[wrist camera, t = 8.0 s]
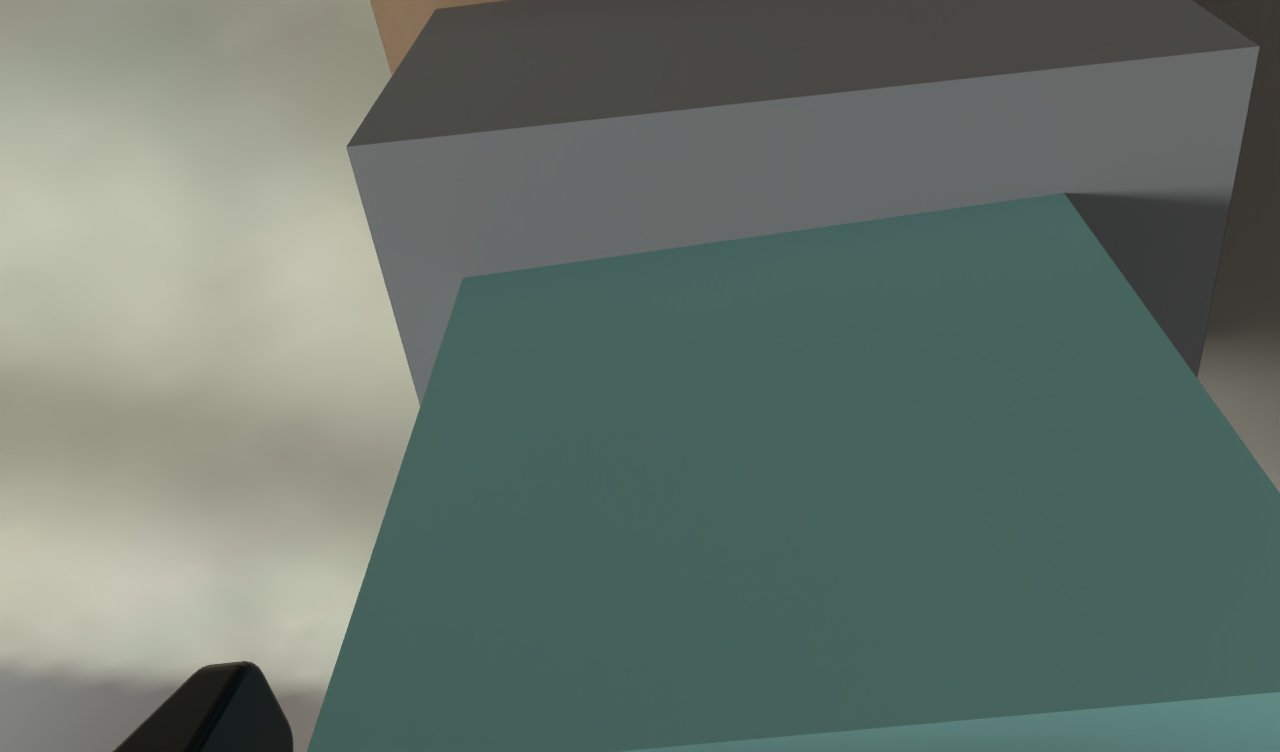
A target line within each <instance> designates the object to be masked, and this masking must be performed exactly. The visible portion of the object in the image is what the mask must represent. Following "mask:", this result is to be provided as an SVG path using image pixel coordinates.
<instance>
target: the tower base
mask: <svg viewBox="0 0 1280 752" xmlns="http://www.w3.org/2000/svg"><path fill="white" fill-rule="evenodd" d="M498 1H506V0H370V2H371V5H372V8H373V12H374V15H375V19H376V22H377V26H378V29H379V33H380V36H381V39H382V43H383V46H384V50H385V53H386V57H387V60H388V63H389V67H390V70H391V74H392V76H393V74H394V73H395V71H396V70H397V68H398V66H399V65H400V63H401V62H402V60H403V59H404V57H405V56H406V54H407V53H408V51H409V49H410V48H411V46H412V45H413V43H414V42H415V40H416V39H417V37H418V36H419V34H420V33H421V31H422V29H423V28H424V26H425V25H426V23H427V22H428V20H429V19H430V17H431V16H432V14H433V12H434V11H435V9H440V8H448V7H456V6H465V5H473V4H481V3H490V2H498Z"/></svg>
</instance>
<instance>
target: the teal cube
mask: <svg viewBox="0 0 1280 752" xmlns="http://www.w3.org/2000/svg"><path fill="white" fill-rule="evenodd" d="M307 752H1280V493H1279V492H1278V490H1277V489H1276V488H1275V486H1274V485H1273V483H1272V482H1271V481H1270V479H1269V478H1268V476H1267V475H1266V474H1265V472H1264V471H1263V469H1262V468H1261V467H1260V465H1259V464H1258V463H1257V461H1256V460H1255V458H1254V457H1253V456H1252V454H1251V453H1250V451H1249V450H1248V449H1247V447H1246V446H1245V444H1244V443H1243V442H1242V440H1241V439H1240V437H1239V436H1238V435H1237V433H1236V432H1235V430H1234V429H1233V428H1232V426H1231V425H1230V423H1229V422H1228V421H1227V419H1226V418H1225V417H1224V415H1223V414H1222V412H1221V411H1220V410H1219V408H1218V407H1217V405H1216V404H1215V403H1214V401H1213V400H1212V398H1211V397H1210V396H1209V394H1208V393H1207V391H1206V390H1205V389H1204V387H1203V386H1202V384H1201V383H1200V382H1199V380H1198V379H1197V378H1196V376H1195V375H1194V373H1193V372H1192V371H1191V369H1190V368H1189V366H1188V365H1187V364H1186V362H1185V361H1184V359H1183V358H1182V357H1181V355H1180V354H1179V352H1178V351H1177V350H1176V348H1175V347H1174V345H1173V344H1172V343H1171V341H1170V340H1169V339H1168V337H1167V336H1166V334H1165V333H1164V332H1163V330H1162V329H1161V327H1160V326H1159V325H1158V323H1157V322H1156V320H1155V319H1154V318H1153V316H1152V315H1151V313H1150V312H1149V311H1148V309H1147V308H1146V306H1145V305H1144V304H1143V302H1142V301H1141V299H1140V298H1139V297H1138V295H1137V294H1136V293H1135V291H1134V290H1133V288H1132V287H1131V286H1130V284H1129V283H1128V281H1127V280H1126V279H1125V277H1124V276H1123V274H1122V273H1121V272H1120V270H1119V269H1118V267H1117V266H1116V265H1115V263H1114V262H1113V260H1112V259H1111V258H1110V256H1109V255H1108V254H1107V252H1106V251H1105V249H1104V248H1103V247H1102V245H1101V244H1100V242H1099V241H1098V240H1097V238H1096V237H1095V235H1094V234H1093V233H1092V231H1091V230H1090V228H1089V227H1088V226H1087V224H1086V223H1085V221H1084V220H1083V219H1082V217H1081V216H1080V214H1079V213H1078V212H1077V210H1076V209H1075V208H1074V206H1073V205H1072V203H1071V202H1070V201H1069V199H1068V198H1067V196H1066V195H1065V194H1064V193H1060V194H1052V195H1045V196H1038V197H1031V198H1024V199H1017V200H1010V201H1003V202H996V203H989V204H982V205H975V206H968V207H961V208H954V209H947V210H939V211H932V212H925V213H918V214H911V215H904V216H897V217H890V218H883V219H876V220H869V221H862V222H855V223H848V224H841V225H833V226H826V227H819V228H812V229H805V230H798V231H791V232H784V233H777V234H770V235H763V236H756V237H749V238H742V239H735V240H727V241H720V242H713V243H706V244H699V245H692V246H685V247H678V248H671V249H664V250H657V251H650V252H643V253H636V254H629V255H621V256H614V257H607V258H600V259H593V260H586V261H579V262H572V263H565V264H558V265H551V266H544V267H537V268H530V269H523V270H515V271H508V272H501V273H494V274H487V275H480V276H473V277H466V278H463V279H462V282H461V285H460V288H459V291H458V294H457V297H456V300H455V304H454V307H453V310H452V313H451V316H450V319H449V322H448V325H447V328H446V331H445V334H444V337H443V340H442V343H441V346H440V349H439V352H438V355H437V358H436V361H435V364H434V367H433V370H432V373H431V376H430V379H429V382H428V385H427V389H426V392H425V395H424V398H423V401H422V404H421V407H420V410H419V413H418V416H417V419H416V422H415V425H414V428H413V431H412V434H411V437H410V440H409V443H408V446H407V449H406V452H405V455H404V458H403V461H402V464H401V467H400V470H399V474H398V477H397V480H396V483H395V486H394V489H393V492H392V495H391V498H390V501H389V504H388V507H387V510H386V513H385V516H384V519H383V522H382V525H381V528H380V531H379V534H378V537H377V540H376V543H375V546H374V549H373V552H372V555H371V559H370V562H369V565H368V568H367V571H366V574H365V577H364V580H363V583H362V586H361V589H360V592H359V595H358V598H357V601H356V604H355V607H354V610H353V613H352V616H351V619H350V622H349V625H348V628H347V631H346V634H345V637H344V640H343V643H342V647H341V650H340V653H339V656H338V659H337V662H336V665H335V668H334V671H333V674H332V677H331V680H330V683H329V686H328V689H327V692H326V695H325V698H324V701H323V704H322V707H321V710H320V714H319V716H318V719H317V723H316V725H315V728H314V732H313V735H312V738H311V741H310V744H309V747H308V750H307Z"/></svg>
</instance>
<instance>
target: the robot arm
mask: <svg viewBox="0 0 1280 752" xmlns="http://www.w3.org/2000/svg"><path fill="white" fill-rule="evenodd" d="M113 752H293V737H292V732H291V728H290V725H289V722H288V720H287V718H286V716H285V715H284V713H283V711H282V709H281V707H280V705H279V703H278V701H277V699H276V697H275V695H274V694H273V692H272V690H271V688H270V686H269V684H268V682H267V680H266V678H265V676H264V674H263V673H262V671H261V670H260V668H259V667H258V666H256V665H255V664H254V663H252V662H247V661H242V662H233V663H223V664H214V665H208V666H205V667H202V668H201V669H199V670H198V671H196V672H195V673H194V674H193V675H192V676H191V677H190V678H189V679H188V680H187V681H185V682H184V683H183V684H182V685H181V686H180V687H179V688H178V689H177V690H176V691H175V692H174V693H173V694H172V695H171V696H170V697H169V698H168V699H167V700H166V701H165V702H164V703H163V704H162V705H161V706H159V707H158V708H157V709H156V710H155V711H154V712H153V713H152V714H151V715H150V716H149V717H148V718H147V719H146V720H145V721H144V722H143V723H142V724H141V725H140V726H139V727H138V728H137V729H136V730H135V731H133V733H131V734H130V735H129V736H128V737H127V738H126V739H125V740H124V741H123V742H122V743H121V744H120V745H119V746H118V747H117V748H116V749H115V750H114V751H113Z"/></svg>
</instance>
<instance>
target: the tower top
mask: <svg viewBox="0 0 1280 752" xmlns="http://www.w3.org/2000/svg"><path fill="white" fill-rule="evenodd" d="M1259 48H1260V46H1259V45H1257V44H1256V43H1254V42H1253V41H1251V40H1250V39H1248V38H1247V37H1246V36H1244V35H1243V34H1241V33H1240V32H1238V31H1237V30H1235V29H1234V28H1232V27H1231V26H1229V25H1228V24H1226V23H1225V22H1223V21H1222V20H1221V19H1219V18H1218V17H1216V16H1215V15H1213V14H1212V13H1210V12H1209V11H1207V10H1206V9H1204V8H1203V7H1201V6H1200V5H1199V4H1197V3H1196V2H1194V1H1193V0H506V1H498V2H490V3H481V4H473V5H465V6H456V7H448V8H440V9H435V11H434V12H433V14H432V16H431V17H430V19H429V20H428V22H427V23H426V25H425V26H424V28H423V29H422V31H421V33H420V34H419V36H418V37H417V39H416V40H415V42H414V43H413V45H412V46H411V48H410V49H409V51H408V53H407V54H406V56H405V57H404V59H403V60H402V62H401V63H400V65H399V66H398V68H397V70H396V71H395V73H394V74H393V76H392V77H391V79H390V80H389V82H388V83H387V85H386V87H385V88H384V90H383V91H382V93H381V94H380V96H379V97H378V99H377V100H376V102H375V103H374V105H373V107H372V108H371V110H370V111H369V113H368V114H367V116H366V117H365V119H364V120H363V122H362V124H361V125H360V127H359V128H358V130H357V131H356V133H355V134H354V136H353V137H352V139H351V141H350V142H349V144H348V145H347V151H348V154H349V158H350V161H351V165H352V168H353V172H354V175H355V179H356V182H357V186H358V190H359V193H360V197H361V200H362V204H363V207H364V211H365V214H366V218H367V221H368V225H369V228H370V232H371V235H372V239H373V242H374V246H375V249H376V253H377V256H378V260H379V263H380V267H381V270H382V274H383V277H384V281H385V284H386V288H387V291H388V295H389V298H390V302H391V305H392V309H393V312H394V316H395V319H396V323H397V326H398V330H399V333H400V337H401V340H402V344H403V347H404V351H405V354H406V358H407V361H408V365H409V368H410V372H411V375H412V379H413V382H414V386H415V389H416V393H417V396H418V400H419V403H420V407H421V404H422V401H423V398H424V395H425V392H426V389H427V385H428V382H429V379H430V376H431V373H432V370H433V367H434V364H435V361H436V358H437V355H438V352H439V349H440V346H441V343H442V340H443V337H444V334H445V331H446V328H447V325H448V322H449V319H450V316H451V313H452V310H453V307H454V304H455V300H456V297H457V294H458V291H459V288H460V285H461V282H462V279H463V278H466V277H473V276H480V275H487V274H494V273H501V272H508V271H515V270H523V269H530V268H537V267H544V266H551V265H558V264H565V263H572V262H579V261H586V260H593V259H600V258H607V257H614V256H621V255H629V254H636V253H643V252H650V251H657V250H664V249H671V248H678V247H685V246H692V245H699V244H706V243H713V242H720V241H727V240H735V239H742V238H749V237H756V236H763V235H770V234H777V233H784V232H791V231H798V230H805V229H812V228H819V227H826V226H833V225H841V224H848V223H855V222H862V221H869V220H876V219H883V218H890V217H897V216H904V215H911V214H918V213H925V212H932V211H939V210H947V209H954V208H961V207H968V206H975V205H982V204H989V203H996V202H1003V201H1010V200H1017V199H1024V198H1031V197H1038V196H1045V195H1052V194H1060V193H1064V194H1065V195H1066V196H1067V198H1068V199H1069V201H1070V202H1071V203H1072V205H1073V206H1074V208H1075V209H1076V210H1077V212H1078V213H1079V214H1080V216H1081V217H1082V219H1083V220H1084V221H1085V223H1086V224H1087V226H1088V227H1089V228H1090V230H1091V231H1092V233H1093V234H1094V235H1095V237H1096V238H1097V240H1098V241H1099V242H1100V244H1101V245H1102V247H1103V248H1104V249H1105V251H1106V252H1107V254H1108V255H1109V256H1110V258H1111V259H1112V260H1113V262H1114V263H1115V265H1116V266H1117V267H1118V269H1119V270H1120V272H1121V273H1122V274H1123V276H1124V277H1125V279H1126V280H1127V281H1128V283H1129V284H1130V286H1131V287H1132V288H1133V290H1134V291H1135V293H1136V294H1137V295H1138V297H1139V298H1140V299H1141V301H1142V302H1143V304H1144V305H1145V306H1146V308H1147V309H1148V311H1149V312H1150V313H1151V315H1152V316H1153V318H1154V319H1155V320H1156V322H1157V323H1158V325H1159V326H1160V327H1161V329H1162V330H1163V332H1164V333H1165V334H1166V336H1167V337H1168V339H1169V340H1170V341H1171V343H1172V344H1173V345H1174V347H1175V348H1176V350H1177V351H1178V352H1179V354H1180V355H1181V357H1182V358H1183V359H1184V361H1185V362H1186V364H1187V365H1188V366H1189V368H1190V369H1191V371H1192V372H1193V373H1194V375H1195V376H1196V378H1197V376H1198V371H1199V366H1200V361H1201V355H1202V350H1203V345H1204V339H1205V334H1206V329H1207V323H1208V318H1209V313H1210V308H1211V302H1212V297H1213V292H1214V286H1215V281H1216V276H1217V270H1218V265H1219V260H1220V255H1221V249H1222V244H1223V239H1224V233H1225V228H1226V223H1227V218H1228V212H1229V207H1230V202H1231V196H1232V191H1233V186H1234V180H1235V175H1236V170H1237V165H1238V159H1239V154H1240V149H1241V143H1242V138H1243V133H1244V127H1245V122H1246V117H1247V112H1248V106H1249V101H1250V96H1251V90H1252V85H1253V80H1254V75H1255V69H1256V64H1257V59H1258V53H1259Z"/></svg>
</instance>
